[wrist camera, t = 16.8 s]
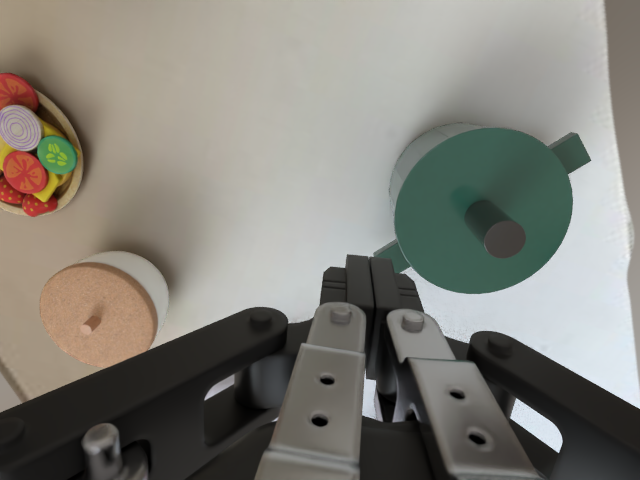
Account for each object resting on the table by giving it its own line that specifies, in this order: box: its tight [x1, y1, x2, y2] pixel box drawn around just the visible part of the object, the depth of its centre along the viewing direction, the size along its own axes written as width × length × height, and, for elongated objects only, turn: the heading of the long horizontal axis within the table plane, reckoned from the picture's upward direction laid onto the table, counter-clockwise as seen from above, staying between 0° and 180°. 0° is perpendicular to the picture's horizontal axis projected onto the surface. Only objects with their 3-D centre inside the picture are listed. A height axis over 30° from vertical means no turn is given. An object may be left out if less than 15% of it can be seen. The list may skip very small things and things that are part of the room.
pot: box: [373, 123, 591, 273], centre depth 36 cm, size 12×17×8 cm
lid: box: [394, 127, 573, 294], centre depth 30 cm, size 13×13×6 cm
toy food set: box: [0, 73, 83, 217], centre depth 40 cm, size 13×13×3 cm
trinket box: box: [40, 251, 169, 367], centre depth 41 cm, size 11×11×9 cm
